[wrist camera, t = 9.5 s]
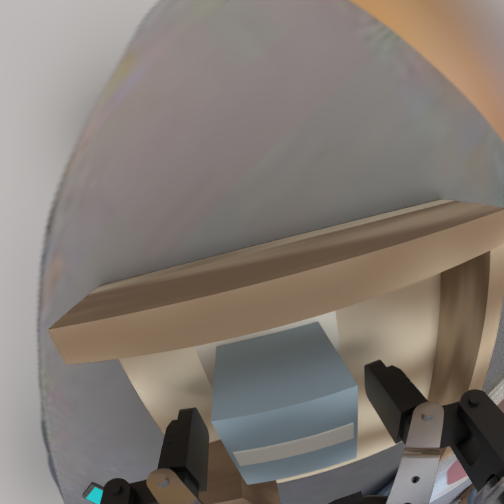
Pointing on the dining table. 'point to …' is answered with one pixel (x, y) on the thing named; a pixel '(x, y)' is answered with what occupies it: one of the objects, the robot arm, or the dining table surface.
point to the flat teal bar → (94, 493)
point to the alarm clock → (468, 495)
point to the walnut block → (233, 482)
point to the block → (284, 404)
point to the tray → (312, 310)
